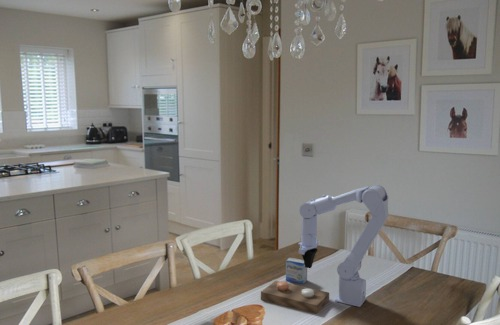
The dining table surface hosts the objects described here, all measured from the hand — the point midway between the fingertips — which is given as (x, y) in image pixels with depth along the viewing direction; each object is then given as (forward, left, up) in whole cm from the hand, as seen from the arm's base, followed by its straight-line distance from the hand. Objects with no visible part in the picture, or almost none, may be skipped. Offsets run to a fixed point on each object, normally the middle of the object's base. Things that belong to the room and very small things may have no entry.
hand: (308, 267), depth 167 cm
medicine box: (+8, -7, -10) cm, 14 cm away
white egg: (-4, +10, -9) cm, 14 cm away
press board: (+1, +10, -9) cm, 14 cm away
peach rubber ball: (+6, +10, -8) cm, 14 cm away
